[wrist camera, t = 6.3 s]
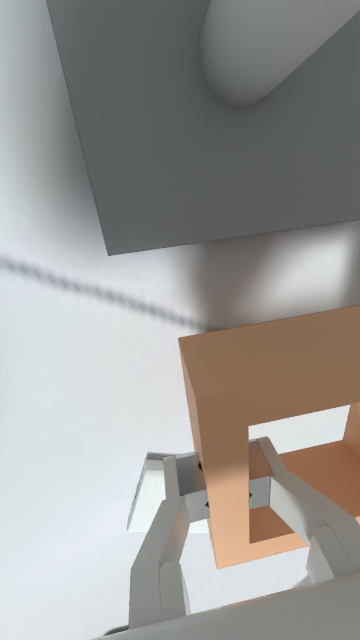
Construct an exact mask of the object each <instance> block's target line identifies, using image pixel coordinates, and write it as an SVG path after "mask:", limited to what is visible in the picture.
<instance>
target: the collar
mask: <svg viewBox="0 0 360 640" xmlns="http://www.w3.org/2000/svg"><path fill="white" fill-rule="evenodd" d="M178 341H179V348H180V355H181V361H182V368H183V375H184V382H185V389H186V395H187V402H188V409H189V416H190V423H191V430H192V436H193V443H194V450H195V452H196V451H198V454H199V458H200V463H201V470H202V471H203V475H204V479H205V483H206V488H207V494H208V504H209V509H210V518H208V519H207V524H208V528H209V533H210V538H211V542H212V547H213V552H214V557H215V561H216V566H217V569H221V568H225V567H229V566H233V565H237V564H241V563H245V562H249V561H252V560H256V559H260V558H264V557H268V556H272V555H276V554H280V553H283V552H287V551H291V550H295V549H299V548H303V547H307V546H308V545H307V544H306V543H305V542H304V541H303V540H302V539H301V538H300V537H299V536H298V535H297V534H296V533H295V532H294V531H293V530H292V529H291V528H290V527H289V526H288V525H287V524H286V523H285V521H284V520H283V519H282V518H281V517H280V516H279V515H278V514H277V513H276V512H275V511H274V510H273V509H272V508H271V507H270V505H268V506H263V507H258V508H253V509H249V502H248V499H249V492H248V480H249V444H248V426H251V425H256V424H261V423H266V422H270V421H275V420H280V419H284V418H289V417H294V416H298V415H303V414H308V413H312V412H317V411H322V410H326V409H331V408H336V407H340V406H345V405H350V404H351V405H350V410H349V414H348V419H347V423H346V427H345V432H344V436H343V440H340V441H336V442H331V443H327V444H323V445H318V446H314V447H309V448H305V449H300V450H296V451H291V452H287V453H283V454H278V455H279V457H280V459H281V461H282V462H283V464H284V466H285V468H286V470H287V472H288V473H289V472H292V473H294V474H295V475H296V476H298V477H299V478H301V479H302V480H303V481H305V482H306V483H307V484H309V485H310V486H312V487H313V488H314V489H316V490H317V491H319V492H320V493H321V494H323V495H324V496H325V497H327V498H328V499H330V500H331V501H332V502H334V503H335V504H337V505H338V506H339V507H341V508H342V509H343V510H345V511H346V512H348V513H349V514H350V515H352V516H353V517H355V519H356V520H357V522H358V523H359V525H360V305H357V306H351V307H346V308H340V309H335V310H329V311H324V312H318V313H313V314H307V315H302V316H296V317H291V318H285V319H280V320H274V321H269V322H263V323H258V324H252V325H246V326H241V327H235V328H230V329H224V330H219V331H213V332H208V333H202V334H197V335H191V336H186V337H180V338H178Z"/></svg>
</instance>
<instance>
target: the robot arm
mask: <svg viewBox="0 0 360 640" xmlns="http://www.w3.org/2000/svg"><path fill="white" fill-rule="evenodd" d="M248 444H249V480H248V492H249V499H248V502H249V509H253V508H258V507H263V506H268V505H270V507H271V508H272V509H273V510H274V511H275V512H276V513H277V514H278V515H279V516H280V517H281V518H282V519H283V520H284V521H285V523H286V524H287V525H288V526H289V527H290V528H291V529H292V530H293V531H294V532H295V533H296V534H297V535H298V536H299V537H300V538H301V539H302V540H303V541H304V542H305V543H306V544H307V545H308V546H309V547H310V550H309V555H308V560H307V565H306V569H307V572H308V574H309V576H310V578H311V581H312V583H313V584H310V585H306V586H302V587H298V588H294V589H290V590H286V591H282V592H278V593H274V594H270V595H266V596H262V597H258V598H254V599H250V600H246V601H242V602H238V603H234V604H230V605H226V606H222V607H218V608H214V609H210V610H206V611H202V612H198V613H194V614H191V612H190V604H189V597H188V593H187V589H186V585H185V581H184V577H183V573H182V569H181V565H180V564H179V560H180V557H181V554H182V550H183V547H184V543H185V540H186V537H187V533H188V530H189V526H190V523H193V522H196V521H200V520H204V519H208V518H210V509H209V504H208V494H207V488H206V483H205V479H204V475H203V471H202V470H201V463H200V458H199V454H198V451H196V452H190V453H185V454H179V455H174V456H169V457H164V458H163V469H164V482H165V496H166V499H165V500H162V502H161V504H160V506H159V508H158V511H157V513H156V515H155V517H154V519H153V522H152V524H151V526H150V528H149V530H148V533H147V535H146V537H145V539H144V541H143V544H142V546H141V548H140V550H139V552H138V555H137V557H136V559H135V561H134V563H133V566H132V568H131V576H130V601H129V625H128V630H126V631H122V632H118V633H114V634H110V635H106V636H102V637H98V638H94V639H90V640H360V525H359V523H358V522H357V520H356V519H355V517H353V516H352V515H350V514H349V513H348V512H346V511H345V510H343V509H342V508H341V507H339V506H338V505H337V504H335V503H334V502H332V501H331V500H330V499H328V498H327V497H325V496H324V495H323V494H321V493H320V492H319V491H317V490H316V489H314V488H313V487H312V486H310V485H309V484H307V483H306V482H305V481H303V480H302V479H301V478H299V477H298V476H296V475H295V474H294V473H292V472H289V473H288V472H287V470H286V468H285V466H284V464H283V462H282V461H281V459H280V457H279V455H278V453H277V451H276V450H275V448H274V446H273V444H272V442H271V441H270V439H269V438H268V437H267V436H265V437H261V438H257V439H250V440H248Z"/></svg>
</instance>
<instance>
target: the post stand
mask: <svg viewBox="0 0 360 640" xmlns="http://www.w3.org/2000/svg"><path fill="white" fill-rule="evenodd" d="M46 2H47V6H48V10H49V14H50V18H51V22H52V26H53V31H54V35H55V39H56V43H57V47H58V51H59V55H60V59H61V64H62V68H63V72H64V76H65V80H66V84H67V88H68V92H69V97H70V101H71V105H72V109H73V113H74V117H75V121H76V125H77V129H78V134H79V138H80V142H81V146H82V150H83V154H84V158H85V162H86V167H87V171H88V175H89V179H90V183H91V187H92V191H93V195H94V199H95V204H96V208H97V212H98V216H99V220H100V224H101V228H102V232H103V237H104V241H105V245H106V249H107V253H108V256H111V255H118V254H125V253H132V252H139V251H146V250H153V249H160V248H167V247H174V246H181V245H188V244H195V243H202V242H209V241H215V240H222V239H229V238H236V237H243V236H250V235H257V234H264V233H271V232H278V231H285V230H292V229H299V228H306V227H313V226H320V225H327V224H334V223H341V222H348V221H355V220H360V0H46Z"/></svg>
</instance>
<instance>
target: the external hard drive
mask: <svg viewBox="0 0 360 640" xmlns="http://www.w3.org/2000/svg"><path fill="white" fill-rule="evenodd" d="M165 499H166V496H165V482H164V469H163V460H157V459H146V461H145V464H144V468H143V471H142V475H141V478H140V481H139V485H138V491H137V495H136V498H135V499H134V502H133V505H132V508H131V512H130V515H129V519H128V524H127V532H148V530H149V528H150V526H151V524H152V522H153V519H154V517H155V515H156V513H157V511H158V508H159V506H160V504H161V502H162V500H165ZM188 533H209V528H208V524H207V519H204V520H200V521H196V522H193V523H190V526H189V530H188Z"/></svg>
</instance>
